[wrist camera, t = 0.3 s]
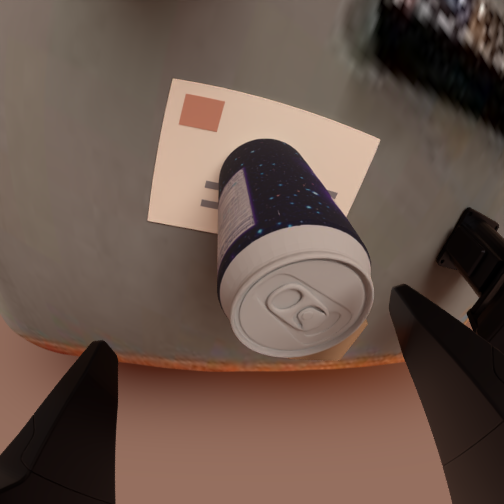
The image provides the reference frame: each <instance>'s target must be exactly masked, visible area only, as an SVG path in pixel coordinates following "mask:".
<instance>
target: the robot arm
mask: <svg viewBox="0 0 504 504" xmlns="http://www.w3.org/2000/svg"><path fill="white" fill-rule="evenodd" d="M498 228H499V224H498V223H497V222H495V221H493V220H492V219H490V218H488V217H486V216H485V215H483V214H481V213H479V212H478V211H476V210H474V209H472V208H470V207H469V208H467V209H466V210H465V212H464V214H463V215H462V217H461V219H460V221H459V223H458V224H457V226H456V228H455V230H454V231H453V233H452V235H451V237H450V238H449V240H448V242H447V243H446V245H445V247H444V248H443V250H442V252H441V253H440V255H439V256H438V258H437V263H438V264H439V265H440V266H444V267H448V268H451V269H455V270H458V271H459V272H460V273H461V275H462V276H463V277H464V278H465V280H466V281H467V282H468V284H469V285H470V286H471V287H472V289H473V290H474V291H475V293H476V294H477V296H478V297H479V299H478V300H477V302H476V303H475V304H474V306H473V307H472V308H471V309H469V311H468V312H467V316H468V318H469V322H470V324H471V327H472V329H473V331H472V330H471V329H470V328H468V327H467V326H466V325H464V324H463V323H461V322H460V321H459V320H457V319H456V318H454V317H453V316H452V315H450V314H449V313H447V312H446V311H445V310H443V309H442V308H440V307H439V306H437V305H436V304H434V303H433V302H432V301H430V300H429V299H427V298H426V297H424V296H423V295H421V294H420V293H418V292H417V291H415V290H414V289H412V288H411V287H409V286H408V285H406V284H401V285H397V286H394V287H393V288H392V290H391V296H390V303H389V311H390V315H391V318H392V321H393V324H394V327H395V331H396V334H397V337H398V340H399V344H400V347H401V351H402V354H403V357H404V359H405V362H406V364H407V366H408V369H409V372H410V374H411V377H412V379H413V382H414V384H415V387H416V389H417V392H418V395H419V397H420V400H421V402H422V405H423V408H424V411H425V413H426V416H427V419H428V422H429V425H430V427H431V431H432V434H433V437H434V439H435V443H436V446H437V449H438V452H439V456H440V459H441V462H442V465H443V470H444V473H445V477H446V480H447V484H448V488H449V491H450V495H451V500H452V504H504V238H503V237H502V236H501V235H500V234H499V233H498V232H497V230H498ZM117 409H118V358H117V355H116V354H115V352H114V351H113V350H112V349H111V348H110V347H109V345H108V344H107V343H106V342H105V341H103V340H99V341H93V342H92V343H91V344H90V345H89V346H88V348H87V349H86V350H85V351H84V352H83V353H82V355H81V356H80V357H79V358H78V360H77V361H76V362H75V363H74V364H73V365H72V367H71V368H70V369H69V370H68V372H67V373H66V374H65V375H64V376H63V378H62V379H61V380H60V381H59V383H58V384H57V385H56V386H55V387H54V389H53V390H52V391H51V393H50V394H49V395H48V397H47V398H46V399H45V400H44V402H43V403H42V404H41V405H40V407H39V408H38V409H37V411H36V412H35V413H34V415H33V416H32V417H31V418H30V420H29V421H28V422H27V424H26V425H25V426H24V427H23V429H22V430H21V431H20V433H19V434H18V435H17V436H16V437H15V439H14V440H13V441H12V442H11V443H10V444H9V446H8V447H7V448H6V449H5V450H4V451H3V453H2V454H1V455H0V504H115V444H116V443H115V442H116V423H117Z"/></svg>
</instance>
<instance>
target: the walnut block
mask: <svg viewBox="0 0 504 504" xmlns="http://www.w3.org/2000/svg"><path fill="white" fill-rule="evenodd" d="M367 324H368V323H367V321H366V319H365V321H364V322H363V323H362V324H361V326H360V327H359V328H358V329H357V330H356V331H355V332H354V333H353V334H352V335H350V336H349V337H348V338H346V339H345V340H343V341H342V342H340V343H339V344H337V345H335V346H333V347H331V348H329V349H326V350H324V351H321V352H318V353H315V354H311V355H307V356H302V357H292V358H288V359H305V360H338V361H339V360H340V359H341V358H342V356H343V355H344V354H345V353H346V352H347V350H348V349H349V348H350V346H351V345H352V344H353V343H354V341H355V340H356V339H357V338H358V336H359V335H360V334H361V332H362V331H363V330H364V328H365V327H366V326H367Z"/></svg>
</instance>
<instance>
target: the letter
mask: <svg viewBox="0 0 504 504" xmlns="http://www.w3.org/2000/svg"><path fill="white" fill-rule="evenodd" d="M256 139H276V140H279V141H282V142H285V143H287V144H289V145H290V146H292V147H293V148H294V149H296V150H297V151H298V152H299V153H300V155H301V156H302V157H303V159H304V160H305V161H306V162H307V164H308V165H309V166H310V168H311V169H312V170H313V172H314V173H315V174H316V176H317V177H318V179H319V180H320V181H321V183H322V184H323V185H324V187H325V188H326V189H327V191H328V192H329V194H330V195H331V196H332V198H333V199H334V201H335V202H336V204H337V205H338V206H339V208H340V209H341V211H342V212H343V214H344V215H345V217H346V216H347V214H348V212H349V210H350V208H351V206H352V203H353V201H354V199H355V197H356V195H357V193H358V190H359V188H360V186H361V184H362V182H363V179H364V177H365V175H366V173H367V170H368V168H369V166H370V163H371V161H372V159H373V156H374V154H375V152H376V149H377V147H378V144H379V142H380V139H378V138H376V137H373V136H371V135H369V134H366V133H364V132H361V131H359V130H357V129H354V128H352V127H349V126H346V125H344V124H341V123H339V122H336V121H333V120H331V119H328V118H325V117H322V116H320V115H317V114H314V113H311V112H308V111H305V110H302V109H299V108H296V107H292V106H289V105H286V104H283V103H279V102H276V101H273V100H269V99H265V98H262V97H258V96H254V95H251V94H247V93H243V92H239V91H234V90H230V89H226V88H221V87H217V86H212V85H207V84H202V83H197V82H192V81H186V80H180V79H174V78H173V80H172V84H171V88H170V92H169V97H168V101H167V106H166V110H165V115H164V120H163V125H162V130H161V135H160V140H159V146H158V151H157V157H156V163H155V169H154V176H153V183H152V190H151V197H150V205H149V213H148V221H151V222H157V223H162V224H168V225H173V226H179V227H184V228H189V229H195V230H200V231H205V232H211V233H216V234H218V194H219V175H220V171H221V168H222V165H223V163H224V161H225V160H226V158H227V157H228V156H229V155H230V153H231V152H233V151H234V150H235V149H236V148H237V147H239V146H240V145H242V144H244V143H246V142H249V141H252V140H256Z"/></svg>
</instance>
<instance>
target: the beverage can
mask: <svg viewBox="0 0 504 504" xmlns="http://www.w3.org/2000/svg"><path fill="white" fill-rule="evenodd" d="M217 293H218V299H219V303H220V305H221V308H222V310H223V311H224V313H225V314H226V316H227V317H228V318H229V320H230V324H231V327H232V330H233V332H234V334H235V335H236V337H237V338H238V339H239V341H240V342H241V343H242V344H244V345H245V346H246V347H248V348H249V349H251V350H253V351H255V352H258V353H260V354H263V355H267V356H272V357H281V358H292V357H302V356H307V355H311V354H315V353H318V352H321V351H324V350H326V349H329V348H331V347H333V346H335V345H337V344H339V343H340V342H342V341H343V340H345V339H346V338H348V337H349V336H350V335H352V334H353V333H354V332H355V331H356V330H357V329H358V328H359V327H360V326H361V324H362V323H363V322H364V321H365V319H366V317H367V316H368V314H369V312H370V310H371V307H372V305H373V299H374V287H373V283H372V280H371V261H370V257H369V253H368V251H367V249H366V247H365V245H364V244H363V242H362V241H361V239H360V237H359V236H358V234H357V233H356V231H355V230H354V228H353V227H352V225H351V224H350V222H349V221H348V219H347V218H346V217H345V215H344V214H343V212H342V211H341V209H340V208H339V206H338V205H337V204H336V202H335V201H334V199H333V198H332V196H331V195H330V194H329V192H328V191H327V189H326V188H325V187H324V185H323V184H322V183H321V181H320V180H319V179H318V177H317V176H316V174H315V173H314V172H313V170H312V169H311V168H310V166H309V165H308V164H307V162H306V161H305V160H304V159H303V157H302V156H301V155H300V153H299V152H298V151H297V150H296V149H294V148H293V147H292V146H290V145H289V144H287V143H285V142H282V141H279V140H276V139H256V140H252V141H249V142H246V143H244V144H242V145H240V146H239V147H237V148H236V149H235V150H234V151H233V152H231V153H230V155H229V156H228V157H227V158H226V160H225V161H224V163H223V165H222V168H221V171H220V175H219V194H218V250H217Z"/></svg>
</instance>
